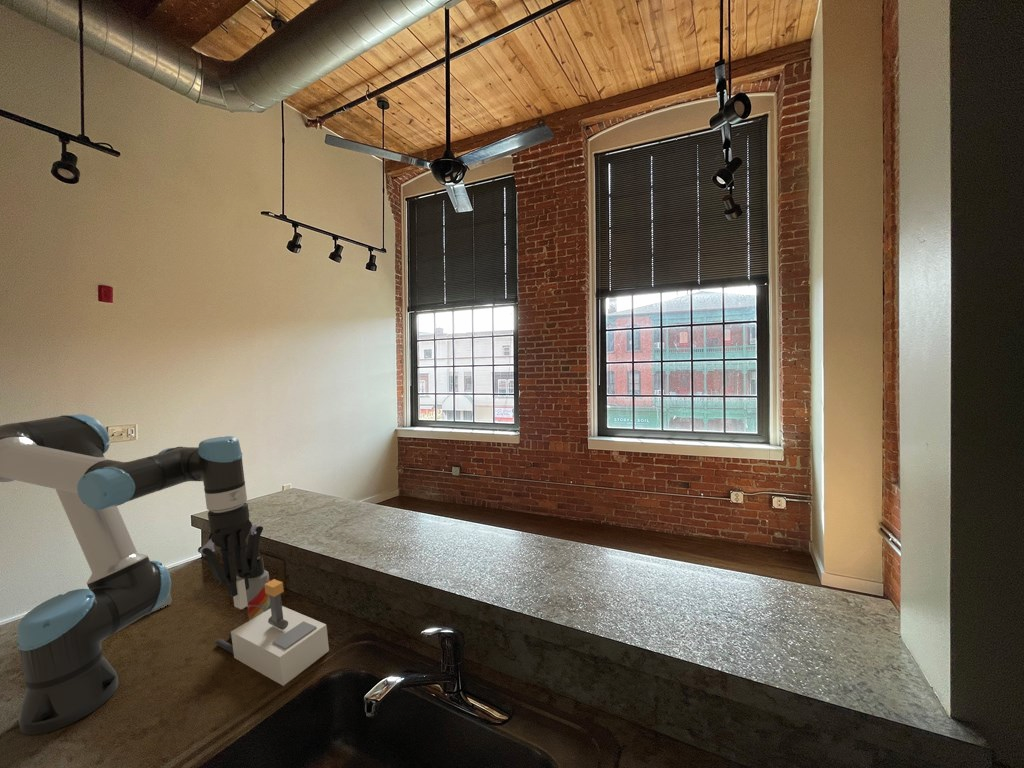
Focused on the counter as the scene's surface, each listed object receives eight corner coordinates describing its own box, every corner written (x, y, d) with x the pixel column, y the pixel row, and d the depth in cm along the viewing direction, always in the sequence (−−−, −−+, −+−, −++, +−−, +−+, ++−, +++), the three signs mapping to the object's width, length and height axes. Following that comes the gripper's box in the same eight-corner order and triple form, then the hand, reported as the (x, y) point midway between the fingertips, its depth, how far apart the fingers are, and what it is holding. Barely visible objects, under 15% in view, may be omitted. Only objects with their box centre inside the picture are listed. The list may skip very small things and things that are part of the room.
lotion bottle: (255, 637, 112) (247, 565, 110) (246, 629, 115) (238, 560, 113) (278, 625, 116) (270, 556, 114) (268, 618, 120) (260, 551, 118)
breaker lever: (267, 626, 105) (262, 583, 103) (277, 620, 107) (272, 578, 106) (280, 632, 102) (274, 588, 101) (289, 625, 104) (284, 583, 103)
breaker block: (234, 657, 105) (230, 629, 104) (280, 628, 115) (277, 602, 114) (283, 685, 95) (279, 655, 94) (329, 650, 105) (326, 623, 105)
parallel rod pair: (216, 646, 109) (215, 641, 109) (234, 635, 113) (233, 630, 113) (235, 657, 105) (234, 651, 105) (253, 645, 109) (252, 640, 109)
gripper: (203, 520, 87) (218, 628, 89) (266, 498, 98) (278, 594, 100) (185, 515, 90) (200, 618, 93) (248, 494, 102) (260, 587, 104)
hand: (241, 606), depth 96 cm, fingers closed
